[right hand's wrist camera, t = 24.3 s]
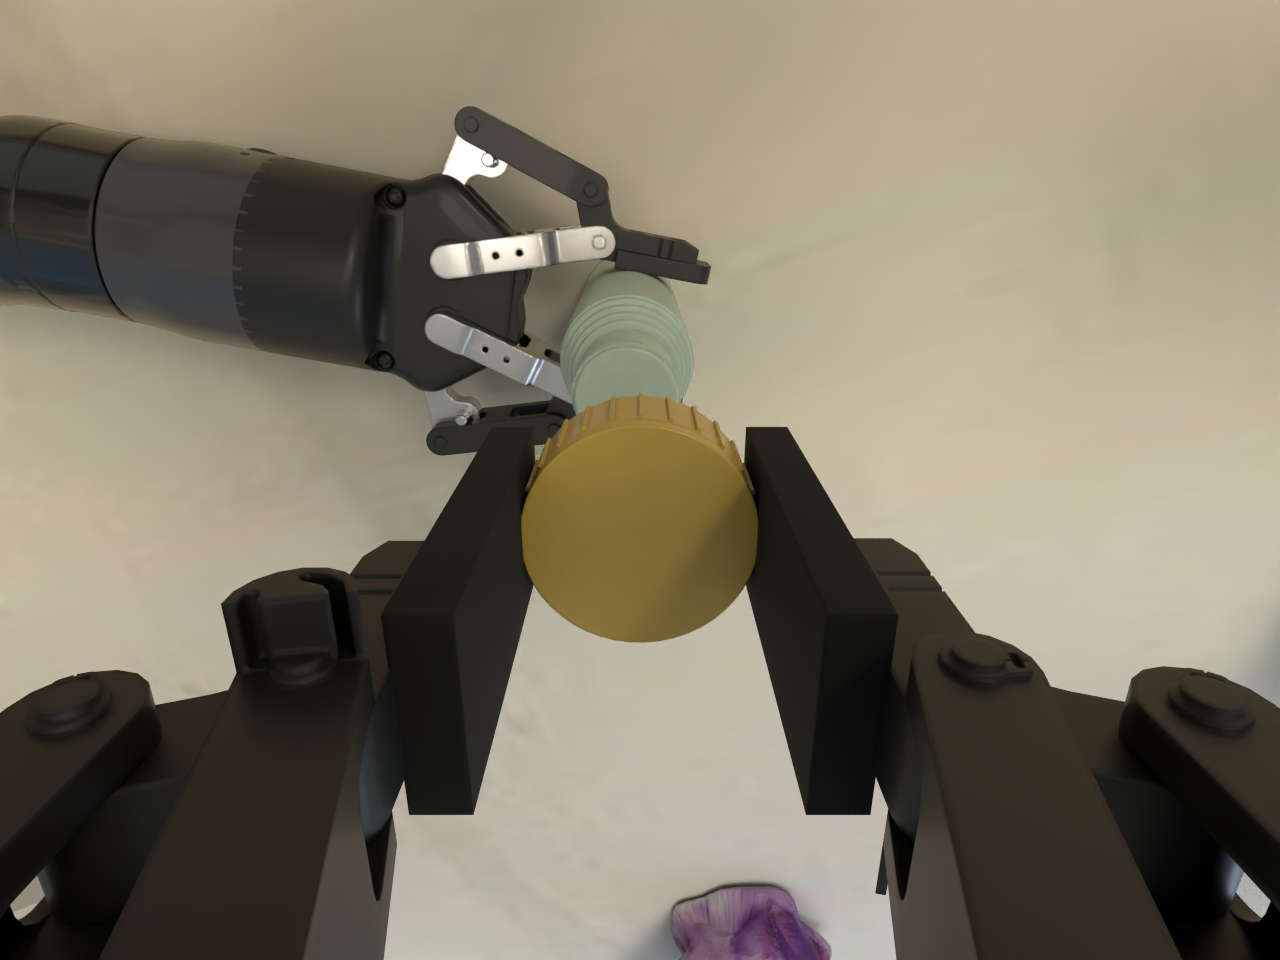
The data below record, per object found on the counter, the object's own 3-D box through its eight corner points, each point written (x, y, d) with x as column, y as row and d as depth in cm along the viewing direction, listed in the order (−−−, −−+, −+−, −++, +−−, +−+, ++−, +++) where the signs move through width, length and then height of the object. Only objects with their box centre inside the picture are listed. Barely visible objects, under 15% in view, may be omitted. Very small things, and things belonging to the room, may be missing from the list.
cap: (612, 346, 13) (607, 371, 12) (793, 473, 14) (814, 514, 13) (489, 520, 15) (470, 566, 13) (663, 627, 15) (666, 684, 14)
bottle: (679, 261, 37) (722, 334, 20) (662, 348, 38) (688, 485, 21) (592, 244, 37) (557, 304, 19) (578, 332, 38) (535, 460, 21)
